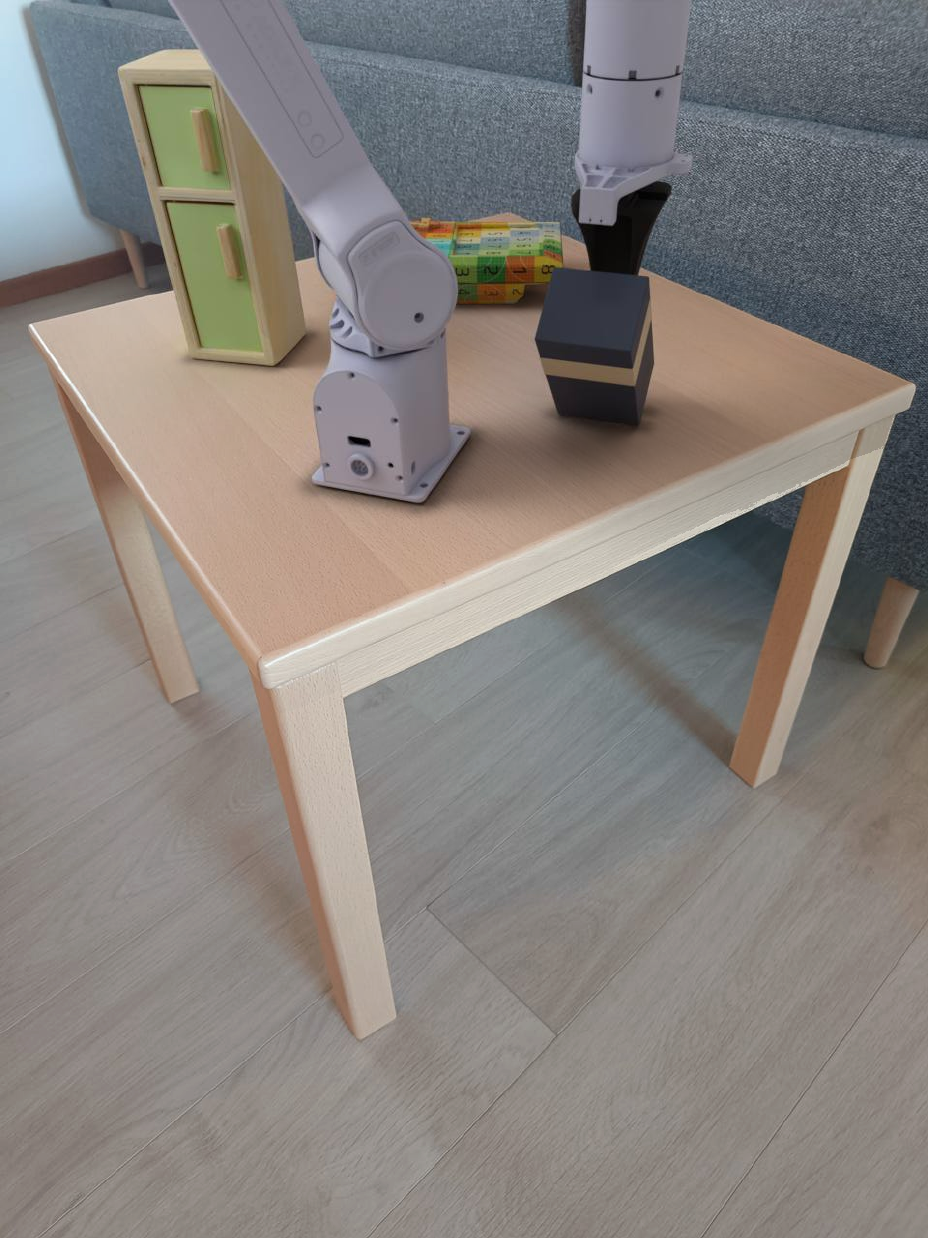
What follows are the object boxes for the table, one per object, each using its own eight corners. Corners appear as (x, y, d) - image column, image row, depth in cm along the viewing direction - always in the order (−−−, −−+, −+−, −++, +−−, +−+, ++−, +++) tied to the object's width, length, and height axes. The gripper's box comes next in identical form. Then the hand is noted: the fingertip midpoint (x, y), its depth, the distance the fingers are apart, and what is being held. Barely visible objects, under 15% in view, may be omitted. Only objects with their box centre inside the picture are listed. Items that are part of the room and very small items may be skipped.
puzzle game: (353, 214, 86) (560, 212, 85) (358, 263, 89) (558, 262, 88) (333, 257, 78) (564, 255, 76) (339, 310, 81) (561, 309, 79)
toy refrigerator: (182, 362, 73) (109, 66, 59) (224, 326, 79) (165, 47, 65) (271, 372, 72) (216, 69, 58) (307, 334, 77) (265, 49, 63)
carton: (639, 427, 63) (631, 351, 53) (557, 415, 65) (533, 339, 55) (654, 362, 64) (649, 275, 54) (573, 352, 66) (552, 265, 55)
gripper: (681, 101, 45) (651, 354, 54) (719, 50, 55) (689, 270, 64) (547, 95, 47) (539, 341, 56) (608, 47, 57) (593, 261, 66)
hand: (612, 303), depth 60 cm, fingers closed
